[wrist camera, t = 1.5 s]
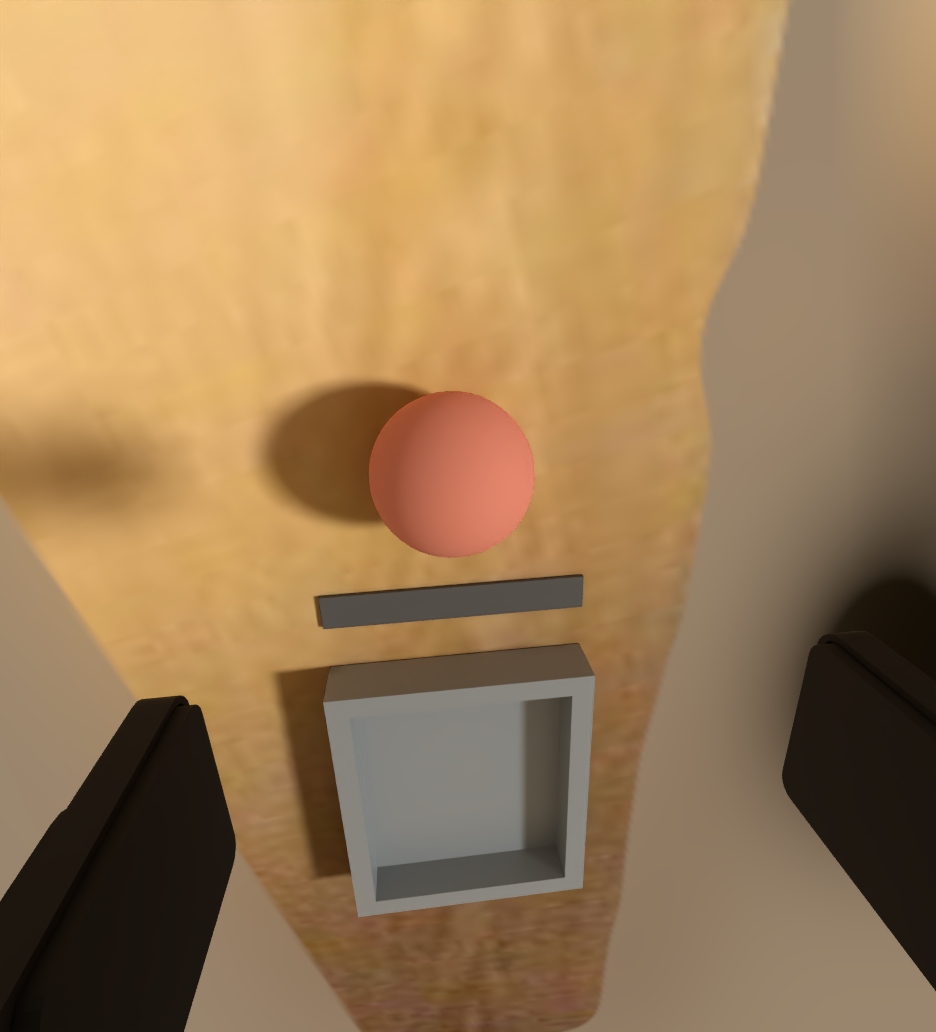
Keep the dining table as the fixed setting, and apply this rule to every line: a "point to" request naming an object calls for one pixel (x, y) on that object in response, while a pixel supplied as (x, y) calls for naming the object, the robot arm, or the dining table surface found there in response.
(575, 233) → the dining table surface
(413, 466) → the ball
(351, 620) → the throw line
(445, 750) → the tray
